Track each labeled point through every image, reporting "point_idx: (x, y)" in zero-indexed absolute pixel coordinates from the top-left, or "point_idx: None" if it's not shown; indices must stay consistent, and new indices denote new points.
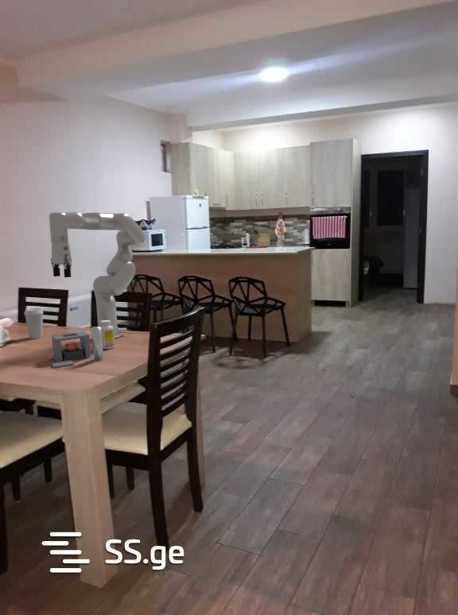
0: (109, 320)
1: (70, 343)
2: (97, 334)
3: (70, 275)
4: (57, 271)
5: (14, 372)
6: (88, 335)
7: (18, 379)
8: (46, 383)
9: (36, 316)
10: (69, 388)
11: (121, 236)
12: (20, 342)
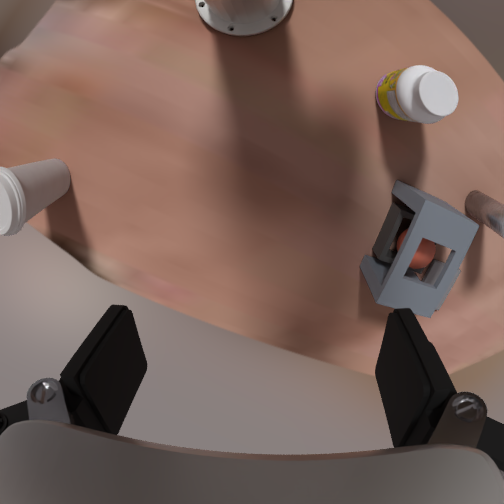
0: (443, 76)
1: (423, 256)
2: None
3: (411, 323)
4: (115, 373)
5: None
6: (477, 226)
7: None
8: (484, 349)
9: (28, 201)
10: None
11: None
12: (86, 236)
